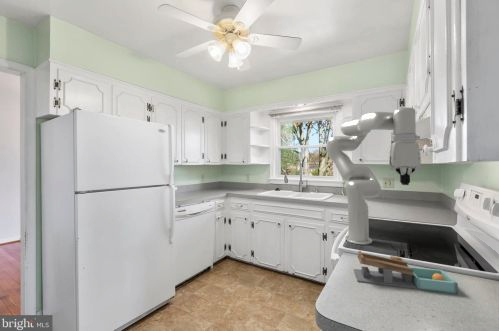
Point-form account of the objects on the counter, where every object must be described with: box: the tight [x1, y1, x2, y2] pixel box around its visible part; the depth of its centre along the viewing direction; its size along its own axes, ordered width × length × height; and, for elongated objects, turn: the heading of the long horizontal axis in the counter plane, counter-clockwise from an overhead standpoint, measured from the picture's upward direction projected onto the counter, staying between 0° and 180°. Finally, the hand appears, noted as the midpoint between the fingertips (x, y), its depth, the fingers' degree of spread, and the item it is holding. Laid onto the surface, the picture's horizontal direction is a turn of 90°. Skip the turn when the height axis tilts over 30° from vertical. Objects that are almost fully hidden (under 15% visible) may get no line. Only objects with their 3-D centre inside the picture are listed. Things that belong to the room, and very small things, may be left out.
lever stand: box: [353, 266, 418, 290], centre depth 80 cm, size 9×17×5 cm, turn 73°
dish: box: [408, 266, 459, 295], centre depth 76 cm, size 9×10×3 cm
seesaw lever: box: [357, 250, 414, 276], centre depth 83 cm, size 13×16×3 cm
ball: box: [432, 273, 445, 281], centre depth 75 cm, size 3×3×3 cm
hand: (405, 184), depth 94 cm, fingers closed
